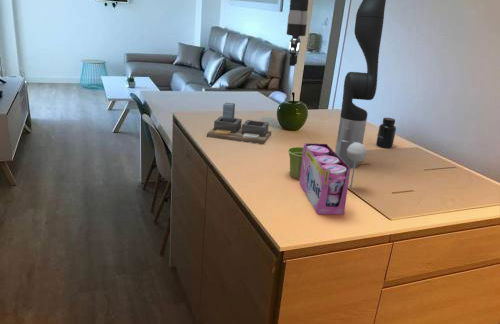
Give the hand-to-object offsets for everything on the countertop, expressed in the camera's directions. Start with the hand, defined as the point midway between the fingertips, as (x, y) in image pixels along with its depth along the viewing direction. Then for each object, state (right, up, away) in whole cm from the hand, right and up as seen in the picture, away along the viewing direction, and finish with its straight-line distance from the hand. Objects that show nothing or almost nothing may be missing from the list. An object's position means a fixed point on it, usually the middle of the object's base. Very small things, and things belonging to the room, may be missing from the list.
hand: (293, 64), depth 181 cm
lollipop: (+15, -48, -38) cm, 63 cm away
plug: (-27, -25, +11) cm, 38 cm away
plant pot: (-1, -44, -31) cm, 54 cm away
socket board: (-22, -28, +8) cm, 36 cm away
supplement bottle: (+40, -33, +9) cm, 52 cm away
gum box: (+3, -50, -47) cm, 69 cm away
